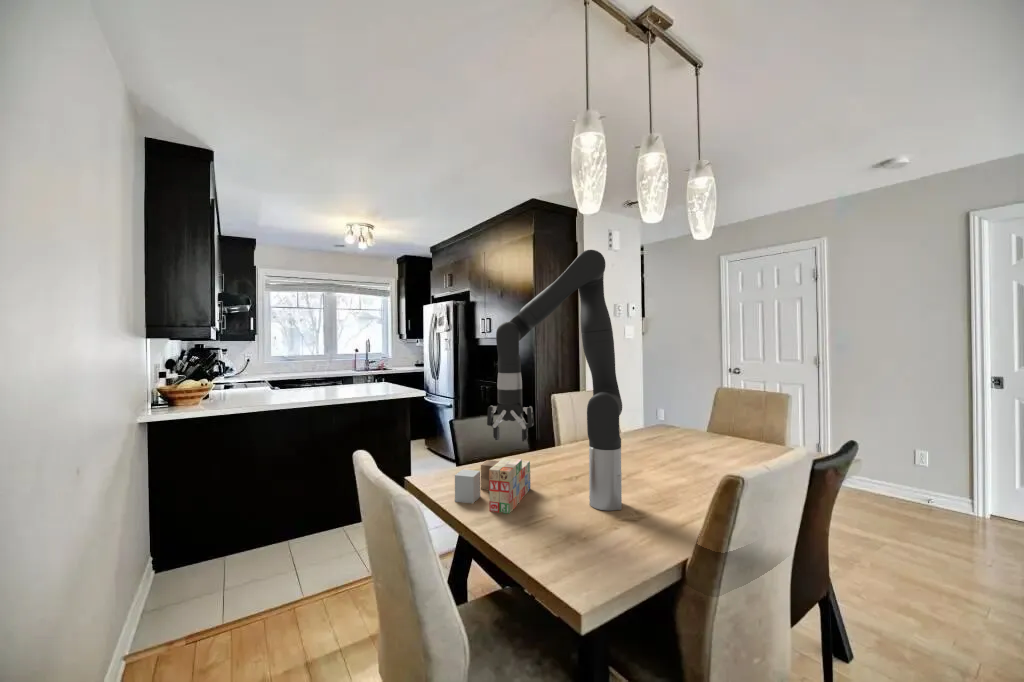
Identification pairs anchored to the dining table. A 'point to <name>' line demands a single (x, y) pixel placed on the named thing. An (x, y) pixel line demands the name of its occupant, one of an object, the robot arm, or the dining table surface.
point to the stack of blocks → (508, 484)
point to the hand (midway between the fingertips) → (510, 440)
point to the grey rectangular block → (467, 486)
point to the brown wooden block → (486, 473)
